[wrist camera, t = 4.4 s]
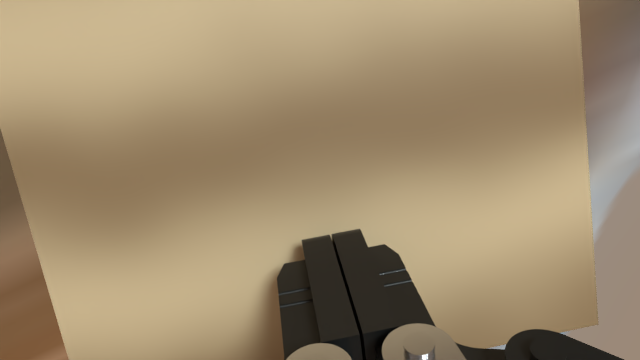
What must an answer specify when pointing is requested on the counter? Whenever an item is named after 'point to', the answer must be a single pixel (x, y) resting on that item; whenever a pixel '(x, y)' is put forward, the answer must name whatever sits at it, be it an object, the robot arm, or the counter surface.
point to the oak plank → (296, 162)
